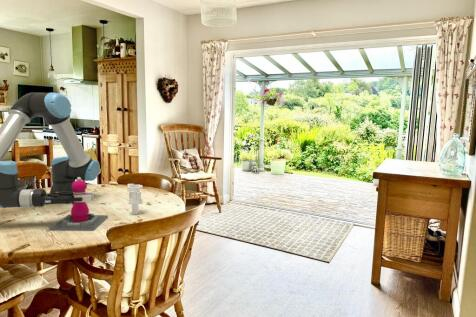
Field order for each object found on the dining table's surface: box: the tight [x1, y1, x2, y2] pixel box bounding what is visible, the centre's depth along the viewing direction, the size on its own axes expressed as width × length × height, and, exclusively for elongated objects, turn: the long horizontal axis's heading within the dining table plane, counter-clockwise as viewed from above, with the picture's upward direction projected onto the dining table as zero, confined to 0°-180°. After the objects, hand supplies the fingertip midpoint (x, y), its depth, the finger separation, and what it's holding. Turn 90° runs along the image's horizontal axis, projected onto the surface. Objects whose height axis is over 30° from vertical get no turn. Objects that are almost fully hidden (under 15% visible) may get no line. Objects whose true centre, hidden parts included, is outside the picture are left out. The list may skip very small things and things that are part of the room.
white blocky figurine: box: [127, 183, 143, 215], centre depth 161 cm, size 7×7×15 cm
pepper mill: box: [70, 177, 90, 222], centre depth 144 cm, size 7×7×20 cm
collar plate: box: [48, 212, 109, 232], centre depth 145 cm, size 18×18×2 cm
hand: (92, 196), depth 145 cm, fingers open, 6 cm apart
